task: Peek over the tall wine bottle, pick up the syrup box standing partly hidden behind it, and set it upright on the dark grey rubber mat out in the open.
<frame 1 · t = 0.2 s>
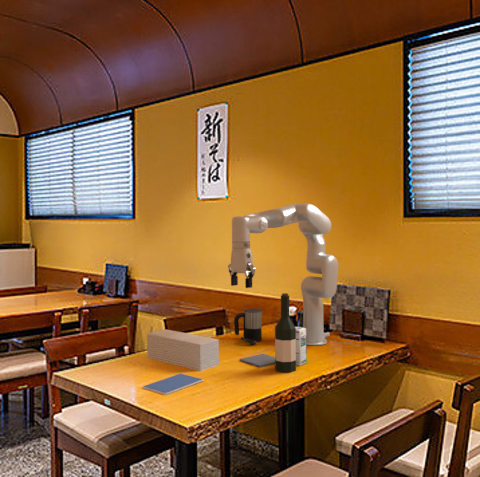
hand: (241, 286, 218), 31 cm above the table, tool pointing down, fingers open, 9 cm apart
mat: (261, 361, 216), on the table
wine bottle: (285, 370, 204), on the table
stack of papers: (182, 362, 217), on the table
milk frother: (251, 342, 250), on the table
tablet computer: (173, 386, 187), on the table
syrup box: (297, 363, 212), on the table
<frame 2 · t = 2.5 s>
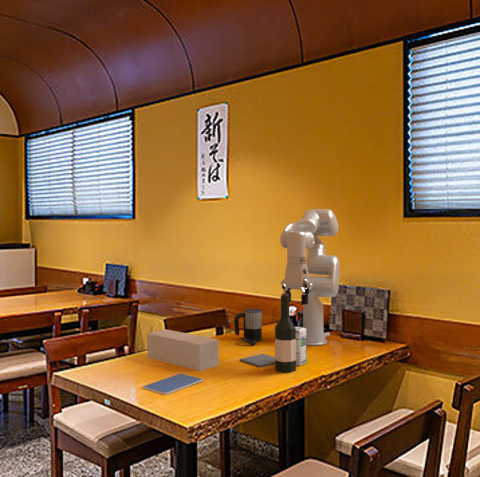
hand: (296, 303, 213), 25 cm above the table, tool pointing down, fingers open, 9 cm apart
nothing on the table moved.
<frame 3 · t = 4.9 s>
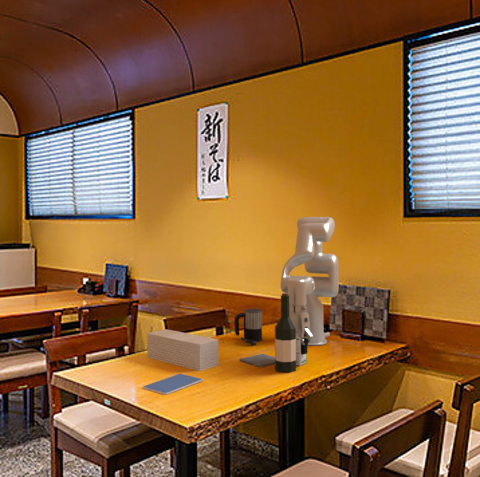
hand: (297, 351, 212), 5 cm above the table, tool pointing down, fingers closed on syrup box, 6 cm apart
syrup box: (297, 363, 212), on the table, touching gripper
everything else where it was.
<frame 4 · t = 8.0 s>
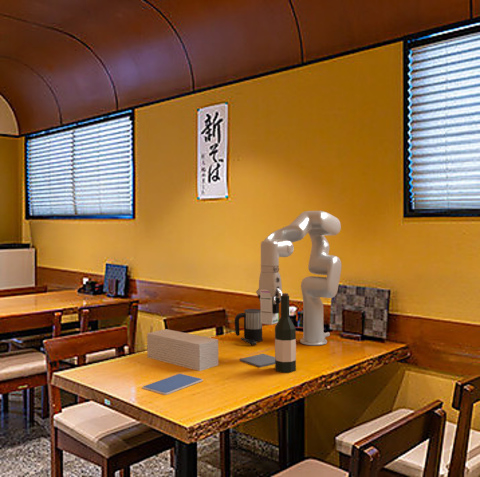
hand: (269, 311, 218), 20 cm above the table, tool pointing down, fingers closed on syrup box, 6 cm apart
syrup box: (269, 323, 218), point 15 cm above the table, touching gripper
everything else where it was.
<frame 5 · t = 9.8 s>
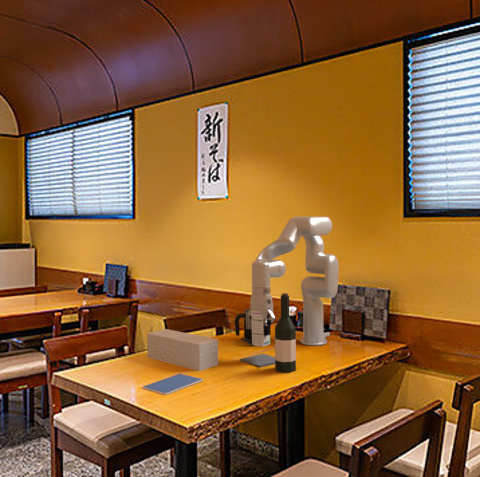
hand: (261, 333, 215), 12 cm above the table, tool pointing down, fingers closed on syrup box, 6 cm apart
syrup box: (261, 345, 216), point 7 cm above the table, touching gripper
when the fingers open (7 cm above the table, at t = 11.2 s): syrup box drops 1 cm, resting on mat.
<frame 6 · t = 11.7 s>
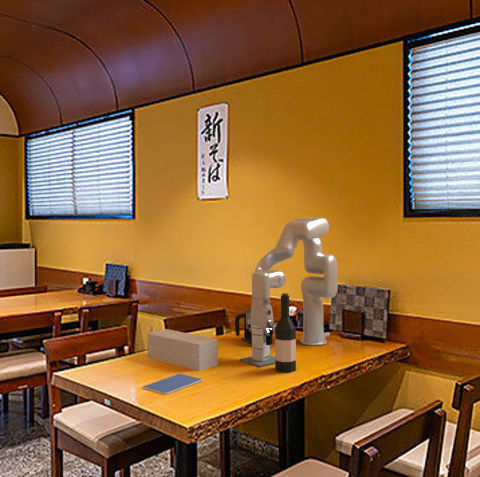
hand: (261, 342, 216), 8 cm above the table, tool pointing down, fingers open, 9 cm apart
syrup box: (261, 359, 216), point 1 cm above the table, touching mat
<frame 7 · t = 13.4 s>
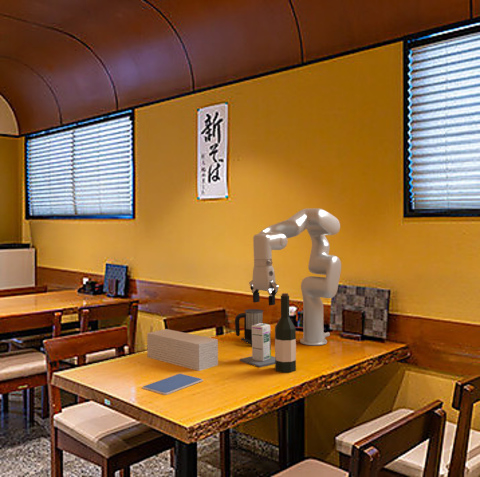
hand: (264, 303, 219), 23 cm above the table, tool pointing down, fingers open, 9 cm apart
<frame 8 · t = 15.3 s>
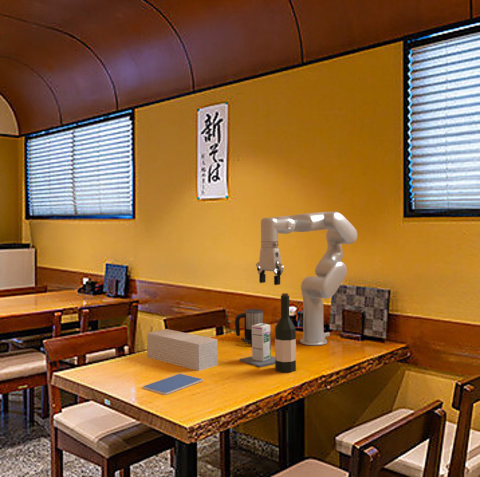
hand: (269, 283, 231), 30 cm above the table, tool pointing down, fingers open, 9 cm apart
at the end: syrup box inside the target area on the mat (0.4 cm from its centre), point 0.6 cm above the mat's base; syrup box tilted 0°; wine bottle moved 0.2 cm from its start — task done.
